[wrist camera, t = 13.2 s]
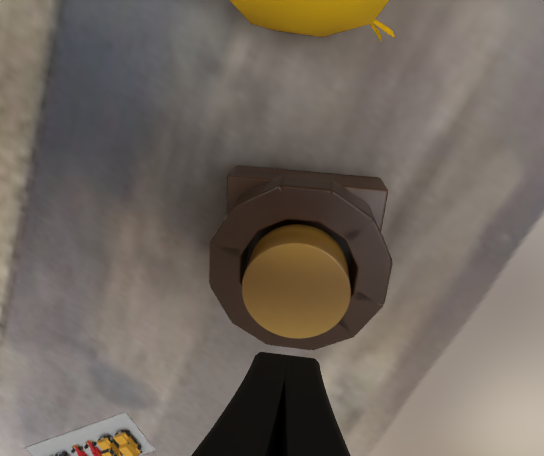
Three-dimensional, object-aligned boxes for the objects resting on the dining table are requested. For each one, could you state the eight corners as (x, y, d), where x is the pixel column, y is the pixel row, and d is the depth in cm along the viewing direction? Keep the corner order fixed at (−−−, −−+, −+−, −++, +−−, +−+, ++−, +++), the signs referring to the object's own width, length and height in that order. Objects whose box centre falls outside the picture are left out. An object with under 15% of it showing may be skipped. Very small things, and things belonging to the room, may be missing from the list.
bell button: (340, 315, 15) (343, 344, 13) (247, 305, 15) (239, 332, 14) (353, 229, 14) (358, 249, 12) (252, 219, 14) (243, 237, 12)
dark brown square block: (364, 308, 18) (374, 359, 15) (227, 293, 19) (208, 338, 16) (388, 172, 16) (406, 196, 13) (230, 158, 16) (209, 178, 13)
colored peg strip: (24, 448, 24) (16, 458, 24) (125, 412, 22) (119, 422, 22) (55, 481, 25) (48, 492, 25) (155, 450, 23) (150, 461, 23)
